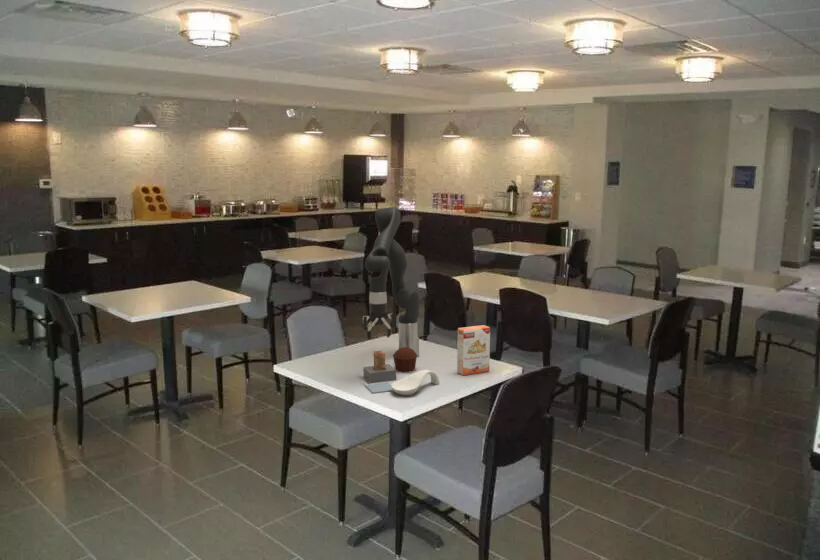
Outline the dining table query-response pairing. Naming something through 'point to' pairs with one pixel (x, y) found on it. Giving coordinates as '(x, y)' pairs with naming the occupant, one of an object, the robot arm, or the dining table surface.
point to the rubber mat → (379, 388)
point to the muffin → (405, 359)
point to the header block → (379, 374)
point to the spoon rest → (413, 382)
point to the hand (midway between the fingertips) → (378, 338)
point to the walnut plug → (379, 360)
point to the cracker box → (473, 350)
